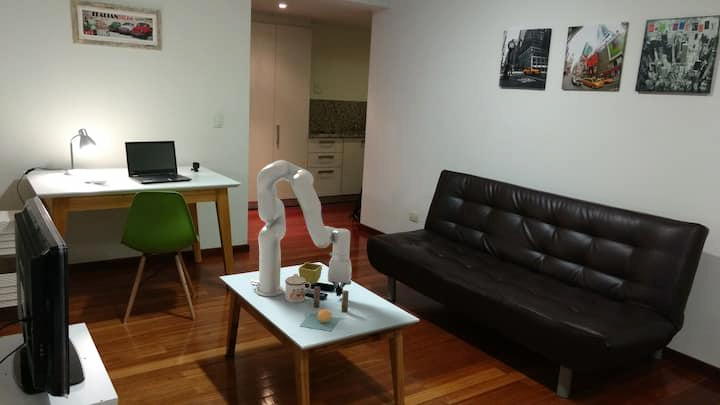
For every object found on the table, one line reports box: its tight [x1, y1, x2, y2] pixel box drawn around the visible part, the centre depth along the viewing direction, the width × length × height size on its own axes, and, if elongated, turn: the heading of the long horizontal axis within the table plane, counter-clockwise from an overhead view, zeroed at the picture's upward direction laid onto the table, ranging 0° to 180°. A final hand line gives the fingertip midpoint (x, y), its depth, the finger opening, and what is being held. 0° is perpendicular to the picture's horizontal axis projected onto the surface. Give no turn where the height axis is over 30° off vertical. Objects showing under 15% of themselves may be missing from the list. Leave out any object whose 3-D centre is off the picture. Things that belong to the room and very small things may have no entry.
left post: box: [313, 286, 321, 309], centre depth 240 cm, size 3×3×9 cm
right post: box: [341, 289, 349, 314], centre depth 238 cm, size 3×3×9 cm
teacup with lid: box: [284, 273, 312, 304], centre depth 248 cm, size 12×9×12 cm
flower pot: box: [298, 262, 323, 284], centre depth 267 cm, size 9×9×9 cm
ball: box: [317, 308, 332, 323], centre depth 226 cm, size 6×6×6 cm
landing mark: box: [299, 313, 341, 332], centre depth 227 cm, size 13×13×1 cm
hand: (338, 295), depth 252 cm, fingers closed
